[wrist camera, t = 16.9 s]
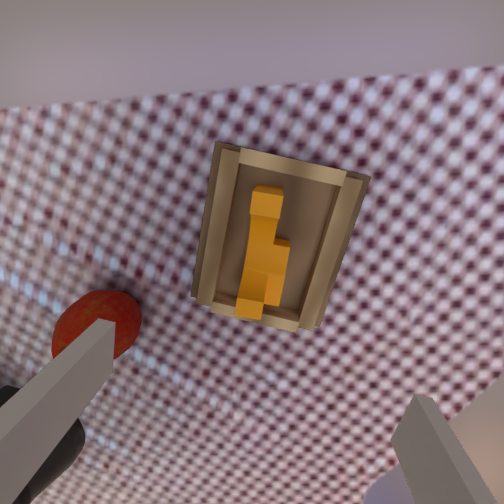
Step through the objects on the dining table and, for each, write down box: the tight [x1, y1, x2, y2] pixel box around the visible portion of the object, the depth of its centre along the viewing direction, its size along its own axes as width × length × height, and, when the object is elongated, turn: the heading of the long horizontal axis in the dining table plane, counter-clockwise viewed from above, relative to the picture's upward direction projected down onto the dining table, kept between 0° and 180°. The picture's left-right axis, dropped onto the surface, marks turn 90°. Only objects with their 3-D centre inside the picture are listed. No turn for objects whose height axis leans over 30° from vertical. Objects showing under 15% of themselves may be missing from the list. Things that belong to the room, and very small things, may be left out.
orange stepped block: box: [235, 183, 290, 320], centre depth 29 cm, size 12×4×6 cm, turn 171°
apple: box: [51, 290, 141, 360], centre depth 33 cm, size 8×8×11 cm
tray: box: [191, 141, 371, 333], centre depth 31 cm, size 16×18×3 cm
